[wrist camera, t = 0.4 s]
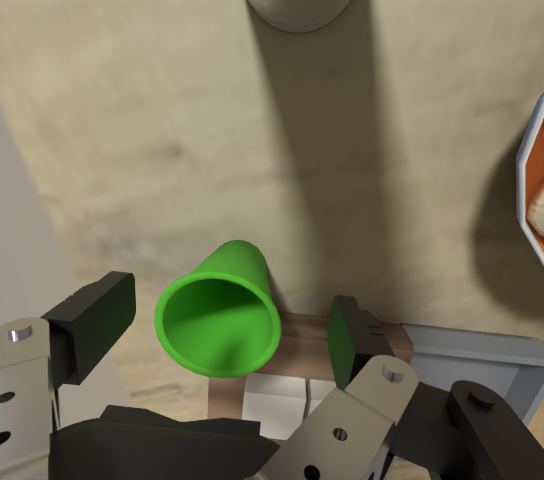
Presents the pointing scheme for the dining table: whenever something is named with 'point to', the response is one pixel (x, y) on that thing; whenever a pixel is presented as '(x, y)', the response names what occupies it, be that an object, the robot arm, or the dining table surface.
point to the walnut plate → (295, 361)
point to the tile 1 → (274, 403)
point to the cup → (221, 314)
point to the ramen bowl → (532, 180)
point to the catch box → (481, 363)
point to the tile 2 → (316, 394)
